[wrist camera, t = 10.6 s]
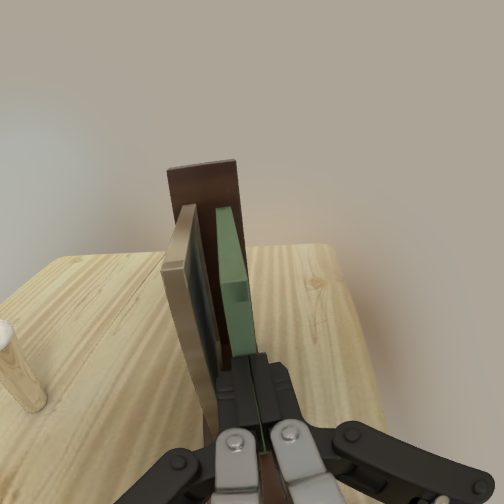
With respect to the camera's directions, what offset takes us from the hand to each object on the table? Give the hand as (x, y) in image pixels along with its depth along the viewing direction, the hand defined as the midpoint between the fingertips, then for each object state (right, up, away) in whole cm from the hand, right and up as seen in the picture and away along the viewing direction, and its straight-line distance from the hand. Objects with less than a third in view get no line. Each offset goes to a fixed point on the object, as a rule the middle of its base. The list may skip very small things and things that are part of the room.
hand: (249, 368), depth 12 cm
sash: (0, -6, +8) cm, 10 cm away
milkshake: (-22, -10, +8) cm, 25 cm away
